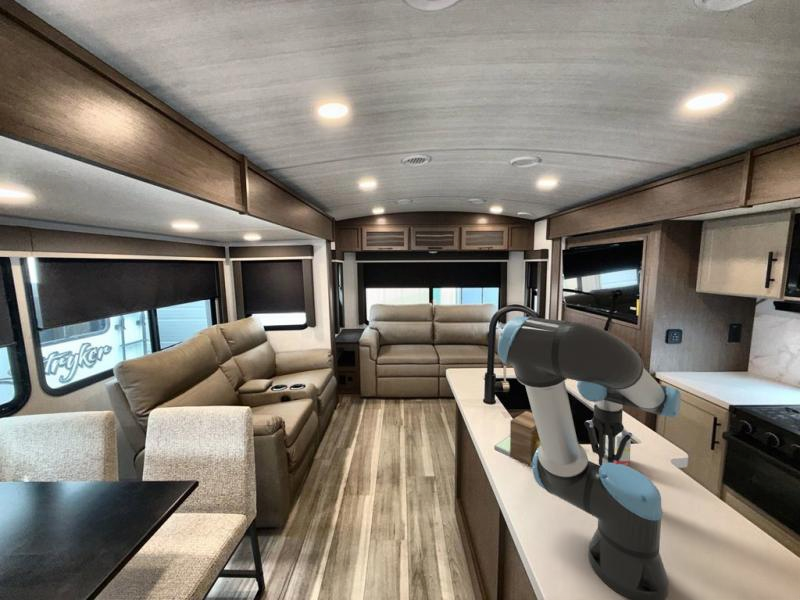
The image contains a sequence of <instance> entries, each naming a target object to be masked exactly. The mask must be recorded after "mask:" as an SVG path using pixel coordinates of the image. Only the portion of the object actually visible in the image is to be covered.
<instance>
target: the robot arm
mask: <svg viewBox="0 0 800 600" xmlns="http://www.w3.org/2000/svg"><path fill="white" fill-rule="evenodd" d="M497 355H498V358H499V360H500V362H501V363H503V364H505V365H506V366H512V367H513V371H514V375H515V378H516V380H517V381H518V382H519V383H520V384H521V385H523V386H525V389H526V390H525V391H526V393H527V397H528V401H529V405H530V409H531V413H533V416H534V420H535V424H536V428H537V431H538V435H539V439H540V442H541V446H539V447H538V449H537V450H536V452H535V455H534V458H533V463H534V465H533V467H532V475H533V478H534V480H535V482H536V483H537V485H539V487H540V488H541V489H543V490H545V491H546V492H547V493H549V494H551V495H553V496H555V497H557V498H559V499H561V500H563V501H564V502H565V503H568V504H570V505H572V506H574V507H576V508H578V509H580V510H581V511H584V512H585V513H587V514H589V515H591V516H592V517H595V518H596V519H597V528H596V530H595V532H594V533H593V536H592V537H591V539H590V541H589V544H588V555H587V556H588V561H589V564H590V566H591V569H592V570H593V571H594V573H595V574H596V575H597V576H598V577H599V578H600V580H601V581H602V582H603V583H604V584H605V585H607V587H609V588H610V589H612V590H613V591H615V592H616V593H618V594H620V595H621V596H623V597H625V598H628V599H630V600H666V598H667V597H668V593H669V579H668V575H667V572H666V569H665V566H664V563H663V559H662V556H661V554H660V545H661V544H660V542H661V527H662V517H663V513H664V512H663V508H662V497H661V493H660V491H659V489H658V488H657V486H656V485H655V484H654V483H653V481H652V480H651V479H650V478H648V477H647V476H646V475H645V474H643V473H642V472H640V471H638V470H637V469H634V468H632V467H628V466H625V465H622V464H618V465H617V464H615V463H614V460H616V461H619V460H620V458H621V457H622V454H623V451H624V449H625V446H626V444H627V441H628V440H629V439H630V438H631V439H632V437H633V433H632V432H628V431H627V430H626V429H625V427H624V424H623V406H626V407H630V408H634V409H637V410H641V411H644V412H647V413H650V414H655V415H657V416H660V417H661V416H662V417H668V418H671V419H672V418H673V419H675V418H677V416H678V415H679V414H680V408H681V404H682V402H681V401H682V396H681V395H682V394H681V391H680V390H679V389H678V388H675V387H672V386H668V385H666V384H665V385H663V384H660V383H658V381H656V379H655V378H654V377H653V376H652V375H651V373H649V372H648V371H647V369H646V368H645V367H644V362H643V359H642V358H641V356H640V354H639V353H638V352H637V351H636V350H635V349H634V348H633V347H632V346H631V345H630V344H628V343H627V342H626V341H624V340H623V339H621V338H619V337H618V336H616V335H614V334H613V333H611V332H609V331H606V330H605V329H602V328H600V327H598V326H595V325H593V324H589V323H585V322H581V321H570V320H561V319H559V320H558V319H549V318H539V317H533V316H529V315H528V316H515V317H512V318H510V319H509V320H508V321H507V322H506V323H505V324H504V326H503V328H502V330H501V332H500V335H499V338H498V342H497ZM566 380H573V381H576V383H577V385H576V387H577V391H578V393H579V395H580V396H581V397H582V398H583V399H584V400H586V401H588V402H590V403H591V402H593V403H594V405H593V417H592V418H591V420H590V419H587V420H586V421H585V422H584V423H583V424H584V426H585V428H586V430H587V433H588V438H589V441H590V446H591V450H592V452H593V453H594V454H597V455H598V463H595V462H592V461H589V459H588V453H587V452H586V450H585V448H584V447H583V446H582V445H581V444H580V443H579V442H578V437H577V434H576V427H575V425H574V424H575V423H574V419H573V414H572V410H571V405H570V400H569V395H568V392H567V387H566ZM595 428H596V430H597V431H598V439H597V435H596V430H595ZM620 432H622V435H621V436H622V438H623V439H622V440H621V442H620V445H619V448H618V450H617V453H616V455H615V437H616V435H618V434H619V433H620ZM606 435H607V436H608V456H607V455H605V453H606V452H605V444H606Z"/></svg>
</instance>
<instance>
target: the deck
mask: <svg viewBox="0 0 800 600" xmlns="http://www.w3.org/2000/svg"><path fill="white" fill-rule="evenodd" d="M493 446H494V447H493V449H494V450H495V451H497V452H499V453H501V454H503V455H505V456H508V457H510V434H509V435H508V436H506V437H505V438H503V439H502V440H501V441H499V442H498V443H496V444H495V445H493ZM533 458H534V457H533ZM533 458H532V461H531V463H530V466H529V467H531V468H533V465H534V463H533Z"/></svg>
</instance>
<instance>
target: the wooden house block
mask: <svg viewBox="0 0 800 600" xmlns="http://www.w3.org/2000/svg"><path fill="white" fill-rule="evenodd" d="M509 423H510V424H509V425H510V427H509V428H510V429H509V430H510V431H509V432H510V434H509V435H510V456H509V458H512V459H514V460H516V461H518V462H521V463H522V464H525V465H527V466H528V467H531V466H530V463H531V461H532V458H533V432H534V431H535V432H538V431H537V428H536V424H535V420H534V416H533V413H532V411H531V412H530V411H527V410H526V411H524V412H523V413H521V414H519V415H518V416H515V418H513V419H511V420H510V422H509Z"/></svg>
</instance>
